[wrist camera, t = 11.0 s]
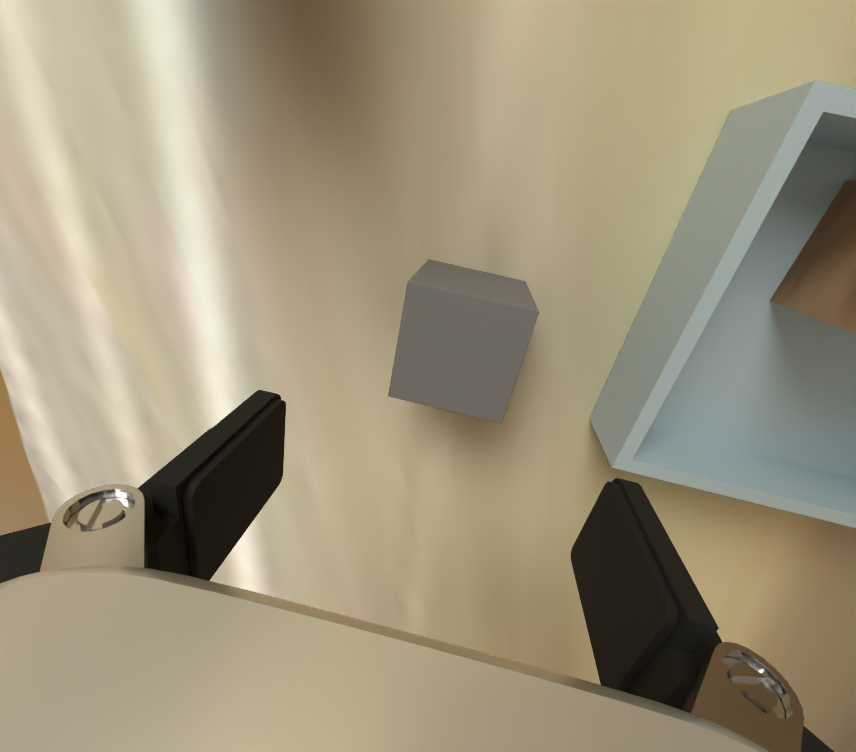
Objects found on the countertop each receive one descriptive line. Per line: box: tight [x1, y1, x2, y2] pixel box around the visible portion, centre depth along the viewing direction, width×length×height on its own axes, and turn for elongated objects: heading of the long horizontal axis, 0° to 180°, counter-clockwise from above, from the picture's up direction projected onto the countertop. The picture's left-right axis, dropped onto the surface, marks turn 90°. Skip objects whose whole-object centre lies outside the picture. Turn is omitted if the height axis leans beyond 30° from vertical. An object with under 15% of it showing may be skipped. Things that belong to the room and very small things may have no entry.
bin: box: [590, 81, 856, 528], centre depth 20 cm, size 18×18×5 cm
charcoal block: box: [388, 260, 539, 424], centre depth 22 cm, size 6×6×7 cm
